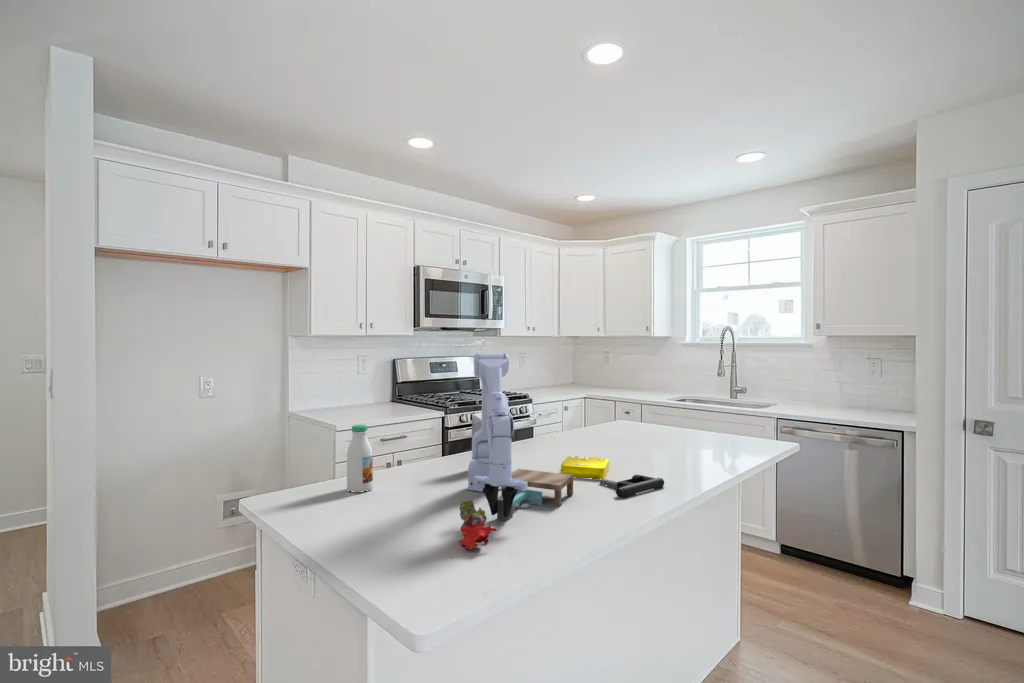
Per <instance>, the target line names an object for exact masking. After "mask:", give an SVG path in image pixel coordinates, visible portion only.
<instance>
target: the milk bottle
mask: <svg viewBox="0 0 1024 683" xmlns="http://www.w3.org/2000/svg"><path fill="white" fill-rule="evenodd" d="M367 433H368V425H366V424H353V425H352V427H351V434H352V437H351V440H350V443H349V446H348V448H347V452H346V453H347V454H346V487H347V488H346V489H347V491H348V490H349V491H354V492H361V491H367V490H370V489H371V490H372V489H373V488H374V486H373V485H374V476H373V475H374V467H373V466H374V465H373V461H374V458H373V449H372V446H371V443H370V441H369V439H368V436H367ZM371 490H370V491H371ZM349 491H348V492H349ZM367 492H368V491H367ZM361 493H362V492H361Z"/></svg>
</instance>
